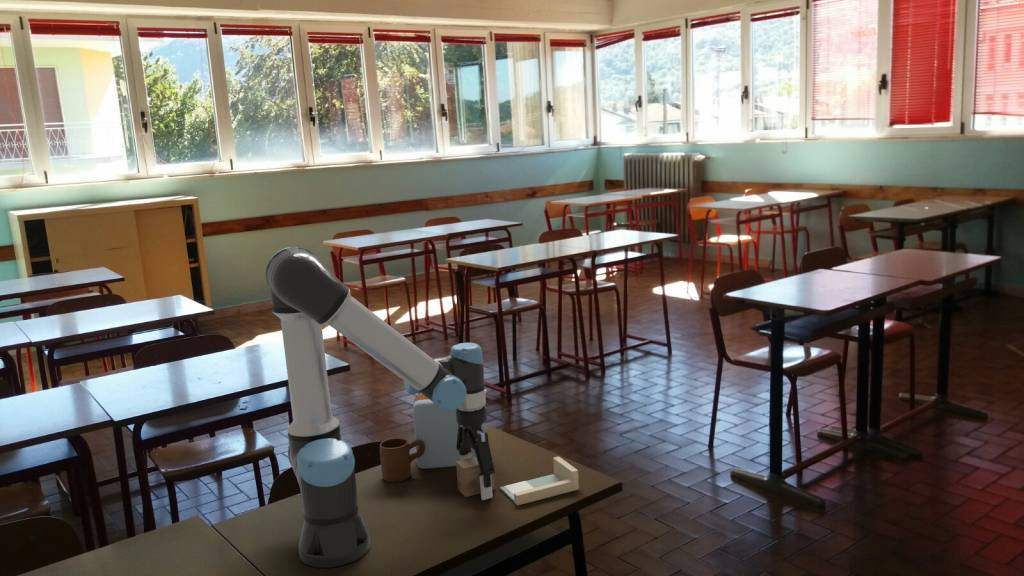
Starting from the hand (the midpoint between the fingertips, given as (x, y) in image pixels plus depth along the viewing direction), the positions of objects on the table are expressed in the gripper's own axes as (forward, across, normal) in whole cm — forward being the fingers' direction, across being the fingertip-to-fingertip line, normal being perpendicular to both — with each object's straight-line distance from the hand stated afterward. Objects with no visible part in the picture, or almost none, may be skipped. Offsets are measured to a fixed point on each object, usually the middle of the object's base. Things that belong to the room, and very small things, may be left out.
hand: (477, 488), depth 202 cm
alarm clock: (0, +20, -1) cm, 20 cm away
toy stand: (0, -8, -13) cm, 16 cm away
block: (0, 0, 0) cm, 0 cm away
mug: (0, +18, +13) cm, 22 cm away
